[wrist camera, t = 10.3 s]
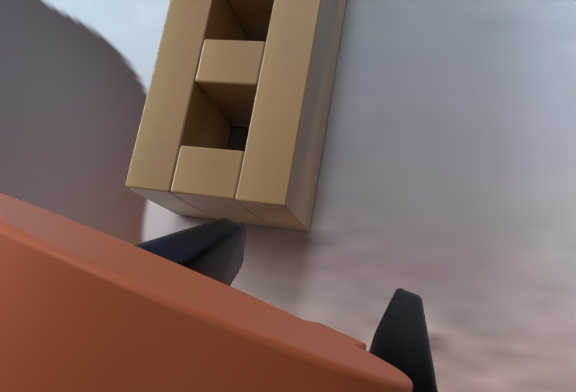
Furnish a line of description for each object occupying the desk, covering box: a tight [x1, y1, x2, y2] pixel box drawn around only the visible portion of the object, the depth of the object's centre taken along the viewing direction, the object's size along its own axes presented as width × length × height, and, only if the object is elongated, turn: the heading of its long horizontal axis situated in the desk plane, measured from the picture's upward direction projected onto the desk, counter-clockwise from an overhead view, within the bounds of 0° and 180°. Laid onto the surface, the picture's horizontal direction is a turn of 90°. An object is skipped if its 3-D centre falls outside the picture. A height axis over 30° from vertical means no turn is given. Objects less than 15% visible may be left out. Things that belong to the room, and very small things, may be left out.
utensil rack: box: [125, 0, 347, 231], centre depth 20 cm, size 5×13×4 cm, turn 169°
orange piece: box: [0, 193, 413, 392], centre depth 9 cm, size 2×4×14 cm, turn 66°
